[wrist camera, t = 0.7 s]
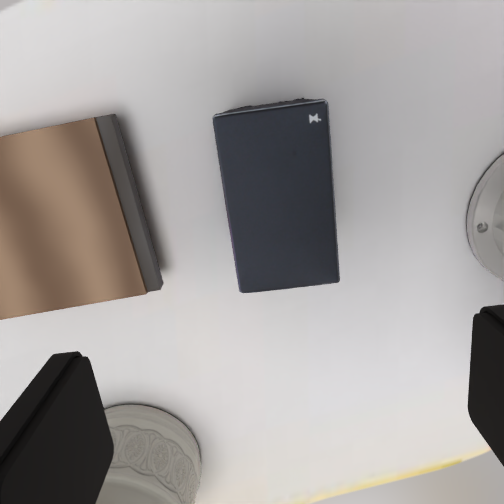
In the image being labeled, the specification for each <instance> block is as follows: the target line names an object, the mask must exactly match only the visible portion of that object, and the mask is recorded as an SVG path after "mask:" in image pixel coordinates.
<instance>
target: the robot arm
mask: <svg viewBox="0 0 504 504" xmlns="http://www.w3.org/2000/svg"><path fill="white" fill-rule="evenodd" d="M479 223H480V224H479ZM478 225H479V226H478ZM477 226H478V227H477ZM467 233H468V238H469V243H470V246H471V248H472V250H473V253H474V255H475V256H476V258H477V259H478V260H479V262H480V263H481V265H482V266H483V267H485V268H486V269H487V270H488V271H489V272H490V273H492V274H493V275H495V276H496V277H498V278H499V279H501V280H502V281H504V154H503V155H502V156H501V157H499V158H498V159H497V160H496V161H495V162H494V163H493V165H492V166H491V167H490V168H489V169H488V170H487V171H486V173H485V174H484V176H483V177H482V179H481V180H480V182H479V183H478V185H477V187H476V189H475V192H474V194H473V196H472V199H471V201H470V206H469V210H468V215H467ZM468 412H469V415H470V418H471V420H472V422H473V424H474V425H475V426H476V428H477V429H478V431H479V432H480V434H481V435H482V436H483V438H484V439H485V441H486V442H487V443H488V445H489V446H490V448H491V449H492V450H493V452H494V453H495V455H496V456H497V458H498V459H499V460H500V462H501V463H502V465H503V466H504V305H495V306H486V307H483V308H481V310H480V313H478V314H475V315H474V317H473V328H472V345H471V361H470V377H469V394H468ZM113 455H114V443H113V439H112V436H111V432H110V429H109V425H108V422H107V418H106V415H105V412H104V408H103V405H102V401H101V398H100V394H99V391H98V387H97V384H96V380H95V377H94V373H93V370H92V366H91V363H90V360H89V358H88V357H86V356H85V357H83V356H82V355H81V353H80V352H78V351H76V352H67V353H58V354H53V355H52V356H51V357H50V358H49V360H48V361H47V362H46V364H45V365H44V366H43V367H42V369H41V370H40V371H39V373H38V374H37V375H36V376H35V378H34V379H33V380H32V381H31V383H30V384H29V385H28V387H27V388H26V389H25V390H24V392H23V393H22V394H21V395H20V397H19V398H18V399H17V401H16V402H15V403H14V404H13V406H12V407H11V408H10V410H9V411H8V412H7V413H6V415H5V416H4V417H3V418H2V420H1V421H0V504H96V501H97V498H98V496H99V493H100V491H101V488H102V485H103V483H104V480H105V477H106V475H107V472H108V470H109V467H110V464H111V462H112V459H113Z"/></svg>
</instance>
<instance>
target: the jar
mask: <svg viewBox="0 0 504 504" xmlns="http://www.w3.org/2000/svg"><path fill="white" fill-rule="evenodd" d="M104 412H105V415H106V418H107V422H108V425H109V429H110V432H111V436H112V439H113V443H114V455H113V459H112V462H111V464H110V467H109V470H108V472H107V475H106V477H105V480H104V483H103V485H102V488H101V491H100V493H99V496H98V498H97V501H96V504H194V503H195V496H196V492H197V490H198V487H199V483H200V475H201V462H200V453H199V448H198V445H197V442H196V440H195V438H194V436H193V435H192V433H191V432H190V431H189V429H188V428H187V427H186V426H185V425H184V424H183V423H182V422H180V421H179V420H178V419H176V418H175V417H173V416H172V415H170V414H168V413H166V412H164V411H162V410H159V409H156V408H153V407H148V406H143V405H120V406H115V407H111V408H108V409H105V410H104Z"/></svg>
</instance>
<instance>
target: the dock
mask: <svg viewBox="0 0 504 504" xmlns="http://www.w3.org/2000/svg"><path fill="white" fill-rule="evenodd" d="M162 285H163V280H162V276H161V273H160V269H159V266H158V262H157V259H156V255H155V252H154V248H153V245H152V241H151V238H150V234H149V230H148V227H147V223H146V220H145V216H144V213H143V209H142V206H141V202H140V199H139V195H138V192H137V188H136V184H135V181H134V177H133V174H132V170H131V167H130V163H129V160H128V156H127V153H126V149H125V146H124V142H123V138H122V135H121V131H120V128H119V124H118V121H117V117H116V114H112V115H106V116H101V117H96V118H90V119H85V120H80V121H75V122H70V123H66V124H61V125H56V126H51V127H46V128H41V129H36V130H32V131H27V132H22V133H17V134H12V135H7V136H2V137H0V320H2V319H8V318H13V317H19V316H25V315H30V314H36V313H42V312H48V311H53V310H59V309H65V308H70V307H76V306H82V305H87V304H93V303H99V302H104V301H110V300H116V299H122V298H127V297H133V296H139V295H144V294H147V292H150V291H156V290H160V289H161V287H162Z"/></svg>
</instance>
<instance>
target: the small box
mask: <svg viewBox="0 0 504 504" xmlns="http://www.w3.org/2000/svg"><path fill="white" fill-rule="evenodd" d="M213 125H214V131H215V139H216V145H217V151H218V158H219V164H220V171H221V177H222V184H223V191H224V198H225V204H226V211H227V217H228V223H229V229H230V236H231V242H232V248H233V254H234V261H235V267H236V273H237V279H238V285H239V290H240V292H241V293H252V292H262V291H270V290H280V289H289V288H297V287H307V286H315V285H322V284H331V283H338V282H339V281H340V276H339V260H338V244H337V229H336V213H335V198H334V183H333V170H332V154H331V137H330V125H329V109H328V102H327V101H326V100H325V99H318V100H313V99H304V98H302V99H295V100H293V101H285V102H278V103H272V104H265V105H259V106H245V107H241V108H237V109H232V110H228V111H226V112H223V113H220V114H215V115H214V116H213Z"/></svg>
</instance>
